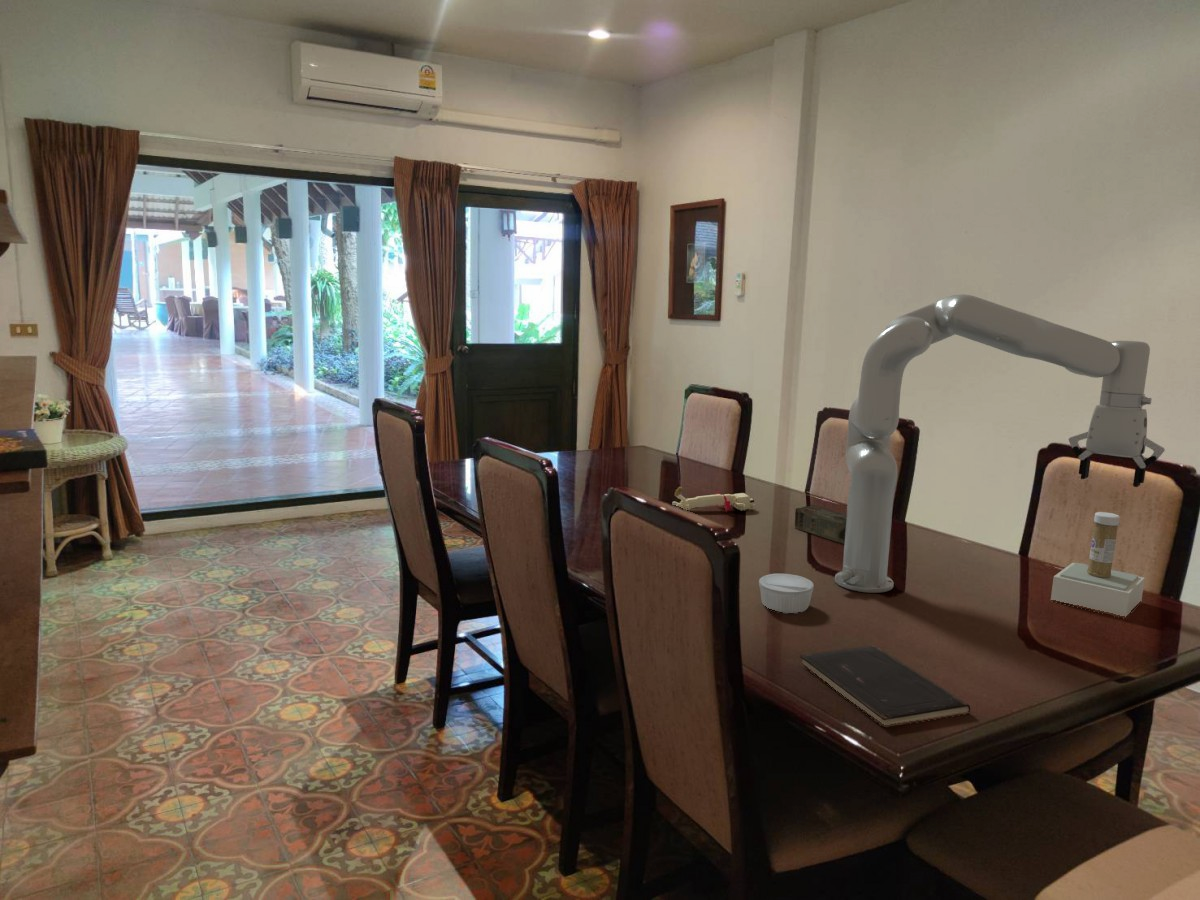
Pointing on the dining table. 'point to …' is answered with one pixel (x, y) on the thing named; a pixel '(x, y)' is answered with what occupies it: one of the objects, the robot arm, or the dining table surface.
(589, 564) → the dining table surface
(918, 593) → the dining table surface
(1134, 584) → the white rimmed tray
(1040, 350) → the robot arm
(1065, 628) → the dining table surface
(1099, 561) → the sprinkles bottle
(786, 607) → the ramekin
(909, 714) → the hardcover book
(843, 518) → the beverage carton
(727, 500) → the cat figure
